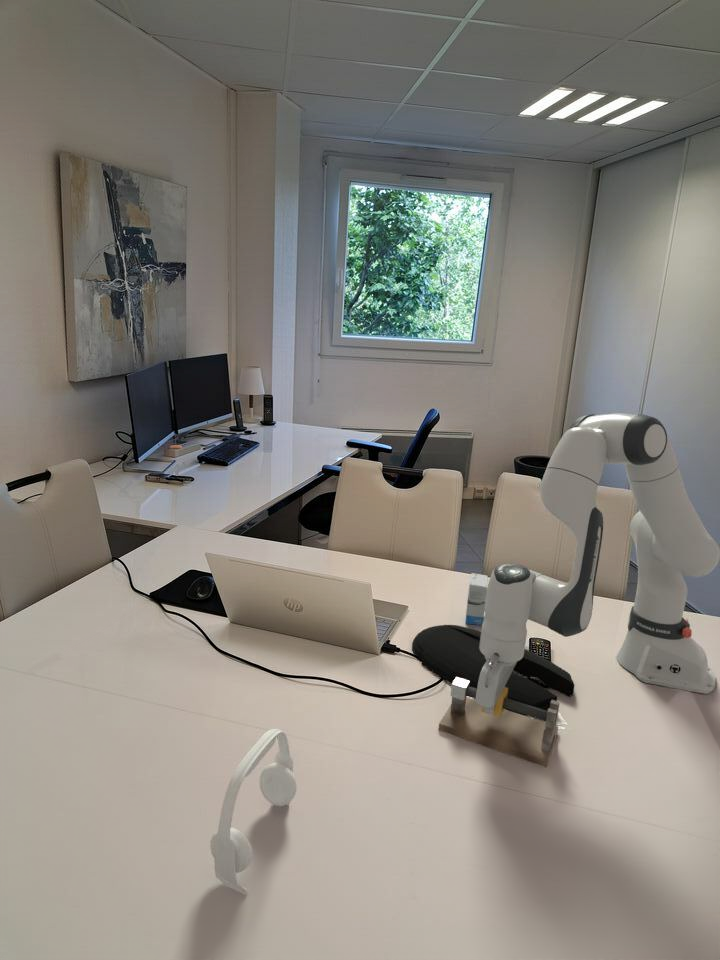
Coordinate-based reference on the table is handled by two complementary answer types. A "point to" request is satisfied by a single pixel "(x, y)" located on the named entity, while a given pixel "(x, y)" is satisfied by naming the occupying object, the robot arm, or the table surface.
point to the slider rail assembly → (505, 731)
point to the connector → (459, 695)
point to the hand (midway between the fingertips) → (494, 703)
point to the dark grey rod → (515, 706)
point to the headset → (275, 787)
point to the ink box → (476, 599)
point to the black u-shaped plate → (461, 657)
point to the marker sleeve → (499, 704)
